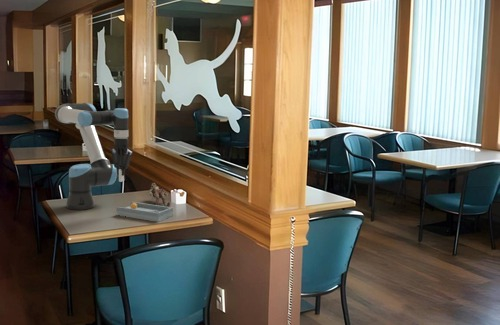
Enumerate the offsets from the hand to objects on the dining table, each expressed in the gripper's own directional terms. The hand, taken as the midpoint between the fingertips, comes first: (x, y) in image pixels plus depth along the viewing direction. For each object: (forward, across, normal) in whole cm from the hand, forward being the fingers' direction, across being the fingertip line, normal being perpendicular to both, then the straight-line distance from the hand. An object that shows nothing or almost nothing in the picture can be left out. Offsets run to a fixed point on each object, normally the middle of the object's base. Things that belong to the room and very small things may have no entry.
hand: (121, 181), depth 313 cm
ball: (+13, +8, 0) cm, 15 cm away
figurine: (+17, +8, +25) cm, 31 cm away
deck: (+17, +15, 0) cm, 23 cm away
